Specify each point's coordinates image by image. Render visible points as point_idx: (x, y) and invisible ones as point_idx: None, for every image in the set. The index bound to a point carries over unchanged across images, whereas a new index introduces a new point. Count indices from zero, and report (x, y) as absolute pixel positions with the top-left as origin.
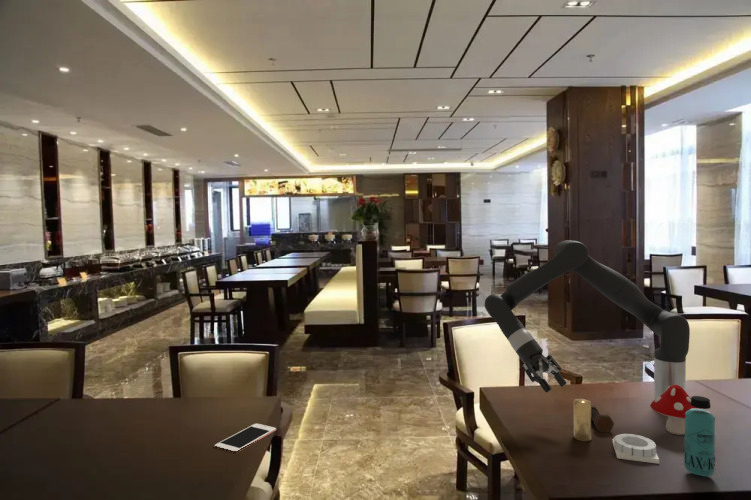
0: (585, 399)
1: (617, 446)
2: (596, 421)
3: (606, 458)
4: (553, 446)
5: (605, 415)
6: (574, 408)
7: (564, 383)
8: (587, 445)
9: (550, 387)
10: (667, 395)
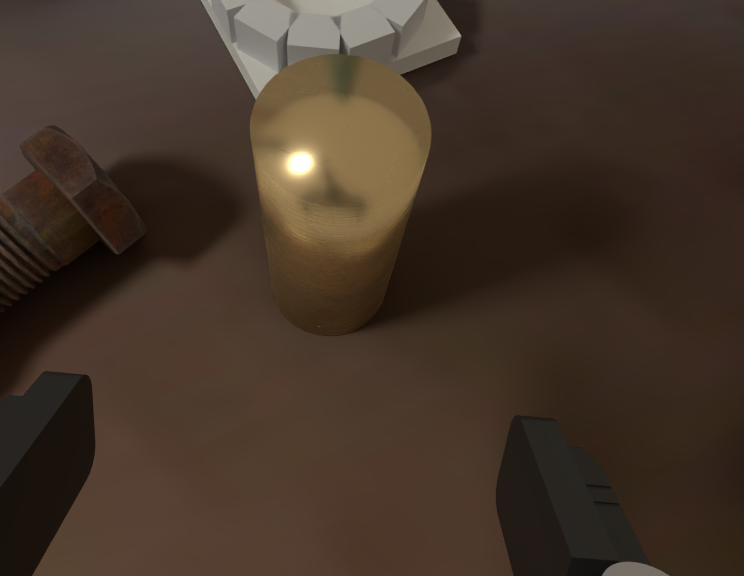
0: (250, 126)
1: (406, 36)
2: (129, 218)
3: (501, 90)
4: (605, 361)
5: (55, 148)
6: (401, 216)
7: (84, 393)
8: (420, 215)
9: (535, 422)
10: None
